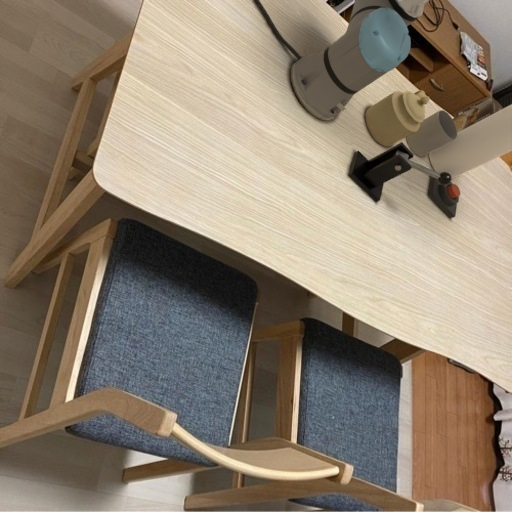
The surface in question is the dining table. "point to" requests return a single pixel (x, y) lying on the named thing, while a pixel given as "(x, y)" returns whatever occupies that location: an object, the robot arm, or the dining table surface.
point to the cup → (433, 133)
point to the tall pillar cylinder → (475, 144)
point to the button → (453, 191)
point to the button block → (442, 197)
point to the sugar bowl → (396, 116)
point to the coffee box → (477, 114)
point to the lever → (427, 170)
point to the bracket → (379, 169)
